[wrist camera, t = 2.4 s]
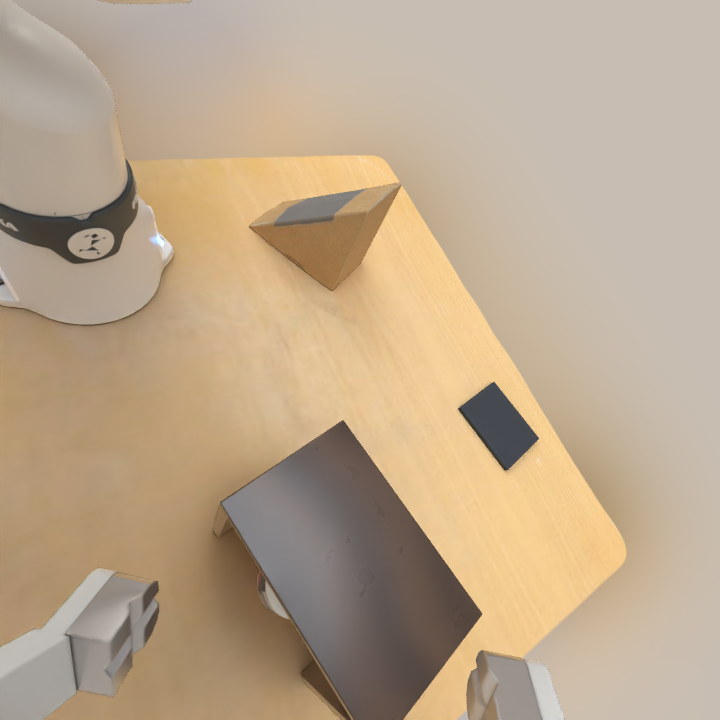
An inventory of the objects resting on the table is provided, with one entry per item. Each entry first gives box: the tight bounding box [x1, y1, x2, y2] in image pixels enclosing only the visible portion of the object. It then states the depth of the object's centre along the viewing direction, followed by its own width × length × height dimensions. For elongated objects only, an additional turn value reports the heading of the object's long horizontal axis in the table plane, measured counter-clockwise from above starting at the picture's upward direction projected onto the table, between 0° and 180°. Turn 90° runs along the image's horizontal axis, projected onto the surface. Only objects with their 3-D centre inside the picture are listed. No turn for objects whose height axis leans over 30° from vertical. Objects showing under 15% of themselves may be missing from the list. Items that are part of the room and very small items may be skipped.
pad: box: [459, 382, 539, 470], centre depth 56 cm, size 10×8×1 cm
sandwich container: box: [249, 182, 402, 291], centre depth 53 cm, size 9×15×15 cm, turn 56°
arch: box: [213, 420, 482, 720], centre depth 33 cm, size 10×16×17 cm, turn 39°
